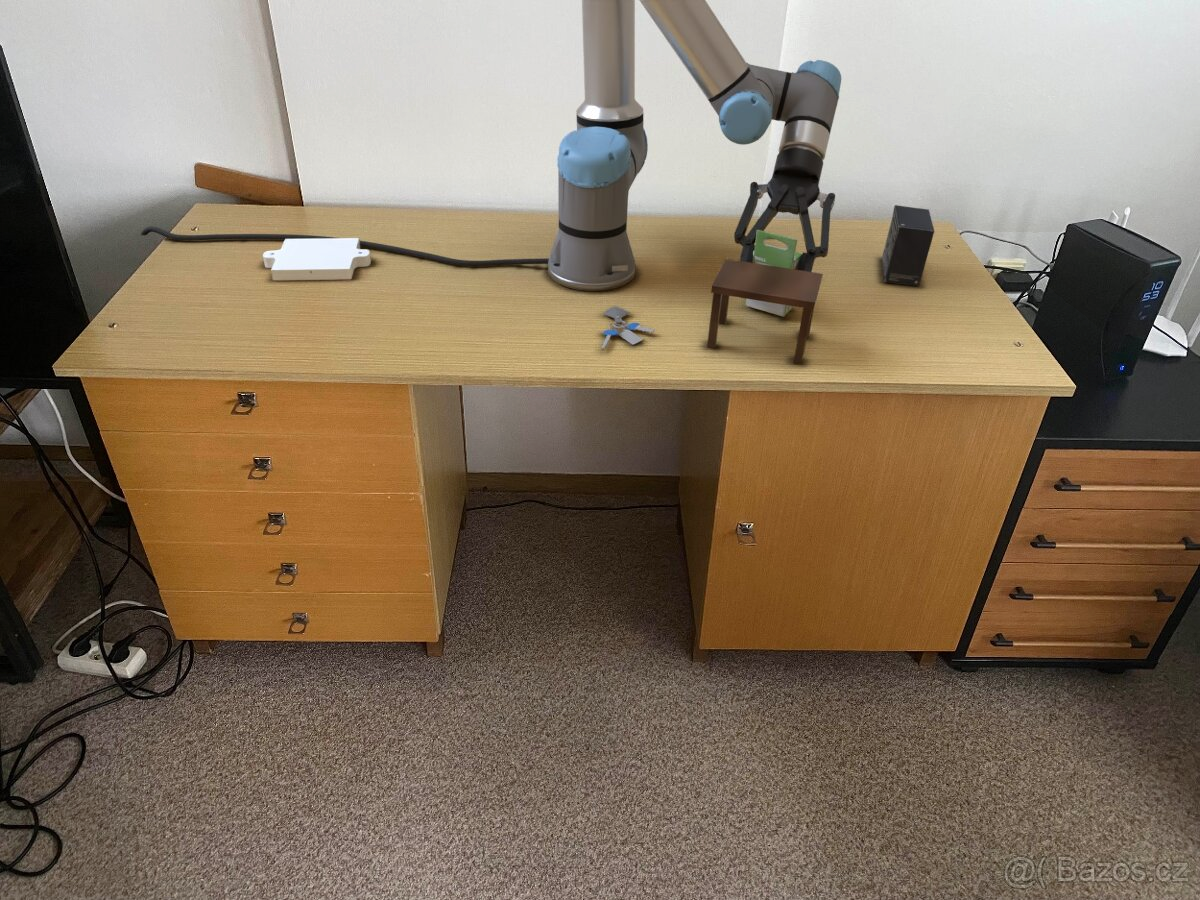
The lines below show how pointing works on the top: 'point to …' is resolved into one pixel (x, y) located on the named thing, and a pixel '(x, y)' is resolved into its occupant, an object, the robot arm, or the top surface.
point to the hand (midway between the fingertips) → (769, 290)
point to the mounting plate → (316, 259)
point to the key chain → (626, 334)
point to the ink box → (774, 258)
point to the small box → (907, 245)
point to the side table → (764, 294)
